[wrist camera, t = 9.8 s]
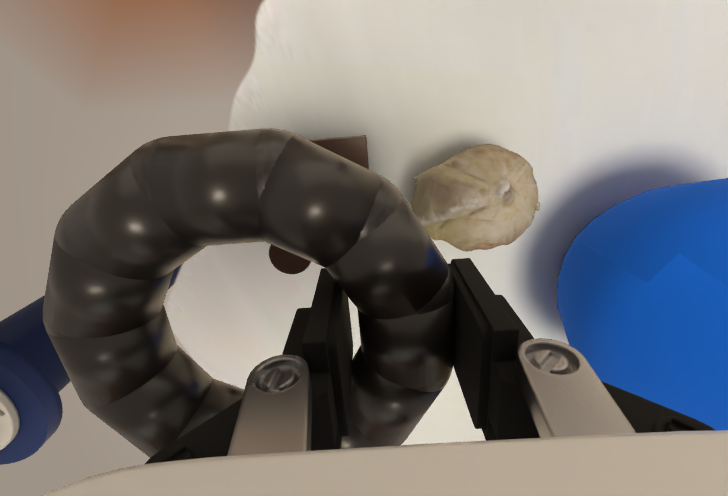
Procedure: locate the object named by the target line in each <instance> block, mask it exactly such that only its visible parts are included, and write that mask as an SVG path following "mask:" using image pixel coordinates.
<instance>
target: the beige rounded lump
mask: <svg viewBox="0 0 728 496" xmlns="http://www.w3.org/2000/svg"><path fill="white" fill-rule="evenodd" d="M413 179H414V181H415V182H416V187H415V191H414V195H413V199H412V210H413V212H414V213H415V215H416V216H417V218H418V220H419V221H420V223H421V224H422V226H423V227H424V229H425V230H426V232H427V233H428V235H429V236H430V237H431V238H432V239H434V240H444V241H446V242H448V243H450V244H451V245H453V246H454V247H456V248H458V249H460V250H462V251H472V250H476V249H483V250H487V249H492V248H494V247H496V246H499V245H508V244H510V243H512V242H513V241H515V240H516V239H517V238H518V237H519V236H520V235H521V234H522V233H523V232H524V231H525V230H526V229H527V228H528V227H529V226H530V225H531V223H532V220H533V218H534V213H535V210H537V211H538V210H539V207H540V203H539V202H538V188H537V184H536V181H535V179H534V177H533V168H532V167H531V165H530V164H529V163H528V162H527V161H526V160H525V159H524V158H523V157H521V156H520V155H519V154H516V153H514V152H512V151H509V150H507V149H505V148H502V147H500V146H496V145H491V144H485V145H479V146H476V147H473V148H470V149H468V150H465V151H463V152H461V153H459V154H457V155H455V156H453V157H451V158H450V159H448V160H447V161H445V162H444V163H442V164H441V165H437V166H434V167H431V168H429V169H428V170H426V171H424V172H422V173H421V174H419V175H417V176H415V177H414V178H413Z"/></svg>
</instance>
